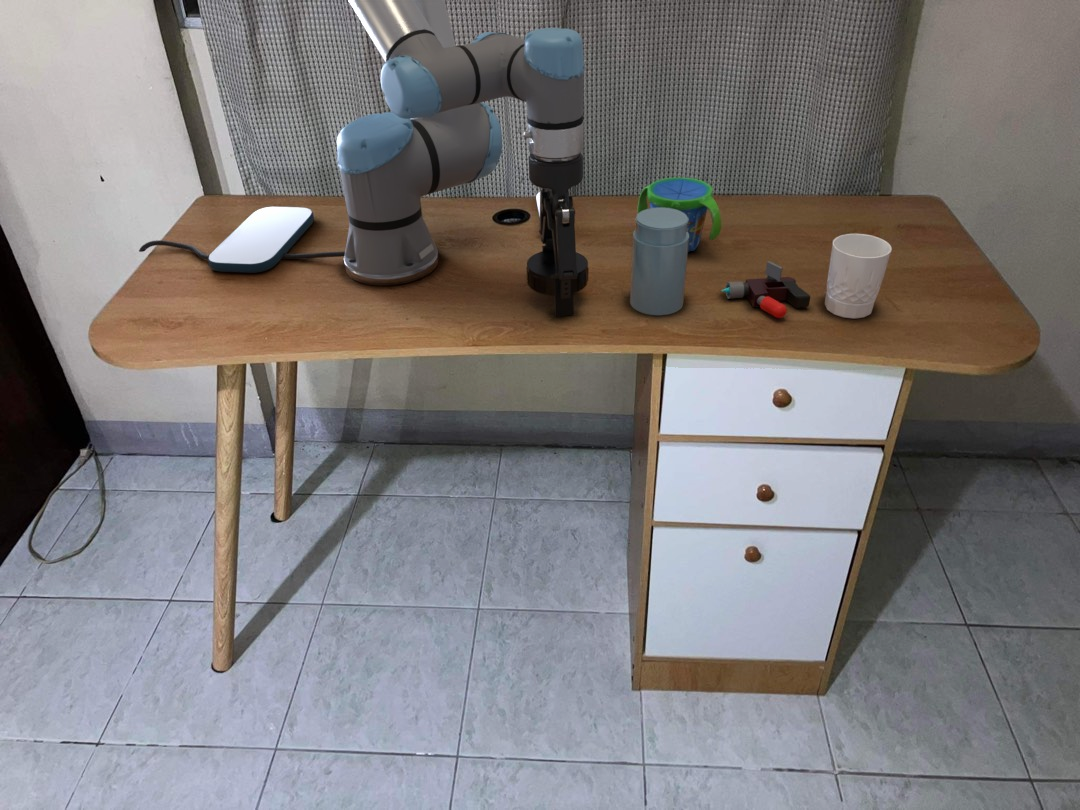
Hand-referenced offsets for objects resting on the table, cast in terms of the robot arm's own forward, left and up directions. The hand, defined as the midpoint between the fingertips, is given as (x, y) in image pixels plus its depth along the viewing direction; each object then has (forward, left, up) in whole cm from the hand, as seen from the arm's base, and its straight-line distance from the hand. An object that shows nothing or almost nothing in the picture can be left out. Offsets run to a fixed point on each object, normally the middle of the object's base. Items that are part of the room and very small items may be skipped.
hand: (558, 298), depth 127 cm
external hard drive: (-54, +13, 0) cm, 56 cm away
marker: (-7, +30, 0) cm, 31 cm away
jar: (+15, +1, 0) cm, 15 cm away
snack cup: (+17, +21, 0) cm, 27 cm away
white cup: (+43, +3, 0) cm, 43 cm away
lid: (0, 0, +5) cm, 5 cm away
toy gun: (+31, +2, 0) cm, 31 cm away
